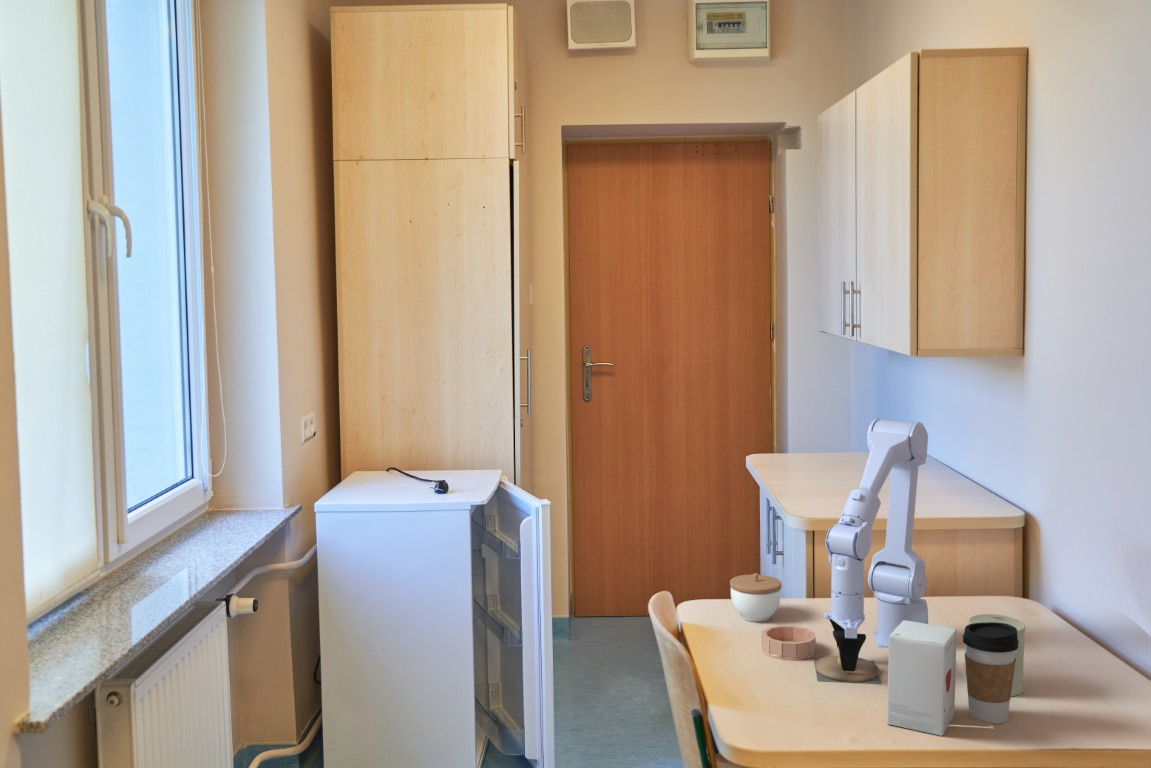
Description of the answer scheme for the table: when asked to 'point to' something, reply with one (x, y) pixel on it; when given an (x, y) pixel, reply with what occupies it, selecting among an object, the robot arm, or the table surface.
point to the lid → (833, 671)
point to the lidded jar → (755, 596)
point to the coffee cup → (990, 669)
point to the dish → (788, 642)
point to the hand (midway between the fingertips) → (846, 663)
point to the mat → (823, 679)
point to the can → (1019, 653)
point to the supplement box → (921, 677)
